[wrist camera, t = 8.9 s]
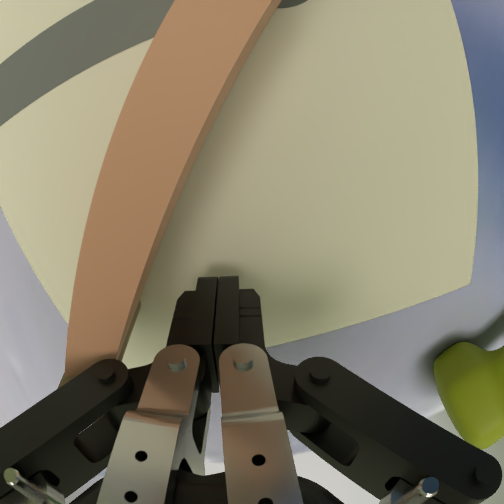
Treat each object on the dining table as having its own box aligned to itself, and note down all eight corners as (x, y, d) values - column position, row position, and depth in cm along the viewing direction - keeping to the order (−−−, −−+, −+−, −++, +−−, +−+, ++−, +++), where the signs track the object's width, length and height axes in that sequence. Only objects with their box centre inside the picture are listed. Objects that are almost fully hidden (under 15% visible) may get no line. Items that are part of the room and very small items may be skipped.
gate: (285, 2, 8) (333, -75, 3) (135, 321, 14) (102, 427, 9) (236, -19, 7) (235, -111, 2) (100, 307, 13) (55, 407, 8)
